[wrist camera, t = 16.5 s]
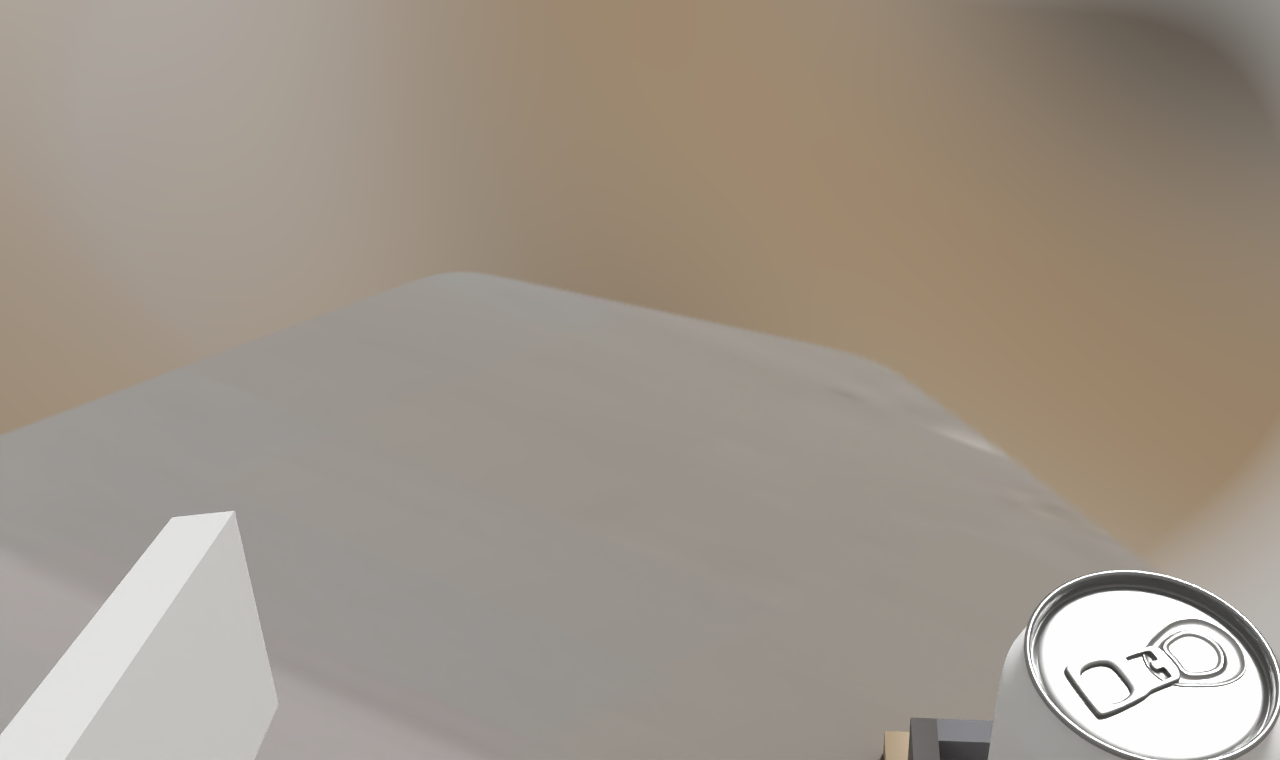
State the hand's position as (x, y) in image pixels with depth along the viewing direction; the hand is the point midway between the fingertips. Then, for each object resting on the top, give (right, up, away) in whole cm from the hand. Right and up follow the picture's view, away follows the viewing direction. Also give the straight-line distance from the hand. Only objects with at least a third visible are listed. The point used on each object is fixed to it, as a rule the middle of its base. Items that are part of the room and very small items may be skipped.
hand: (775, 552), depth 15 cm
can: (+11, -14, +21) cm, 27 cm away
